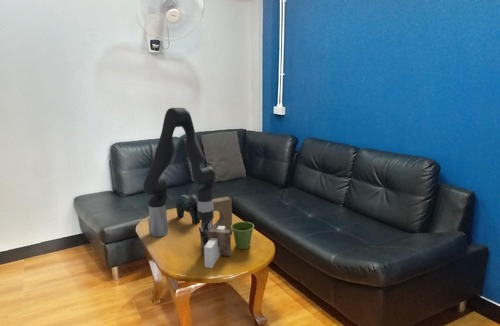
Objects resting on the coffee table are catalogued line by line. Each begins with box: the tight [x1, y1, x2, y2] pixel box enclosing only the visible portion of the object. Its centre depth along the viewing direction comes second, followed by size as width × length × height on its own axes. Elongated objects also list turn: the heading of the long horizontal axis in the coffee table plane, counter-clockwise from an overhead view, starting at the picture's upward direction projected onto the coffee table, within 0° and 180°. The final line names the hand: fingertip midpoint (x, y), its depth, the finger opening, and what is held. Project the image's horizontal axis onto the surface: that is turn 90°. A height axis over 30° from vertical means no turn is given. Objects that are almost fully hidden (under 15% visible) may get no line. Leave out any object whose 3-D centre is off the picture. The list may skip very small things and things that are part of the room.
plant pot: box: [231, 221, 255, 250], centre depth 176 cm, size 12×12×11 cm
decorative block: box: [212, 196, 233, 234], centre depth 190 cm, size 11×6×20 cm, turn 116°
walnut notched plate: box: [200, 228, 232, 257], centre depth 167 cm, size 14×4×12 cm, turn 79°
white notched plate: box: [203, 226, 226, 269], centre depth 168 cm, size 4×24×10 cm, turn 169°
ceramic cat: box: [175, 189, 201, 225], centre depth 208 cm, size 20×6×20 cm, turn 49°
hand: (206, 241), depth 168 cm, fingers closed on walnut notched plate, 3 cm apart
